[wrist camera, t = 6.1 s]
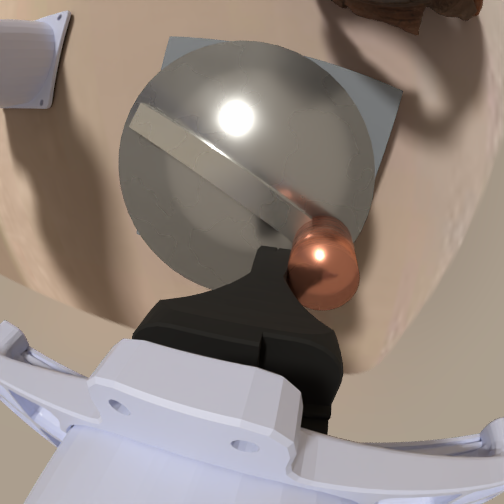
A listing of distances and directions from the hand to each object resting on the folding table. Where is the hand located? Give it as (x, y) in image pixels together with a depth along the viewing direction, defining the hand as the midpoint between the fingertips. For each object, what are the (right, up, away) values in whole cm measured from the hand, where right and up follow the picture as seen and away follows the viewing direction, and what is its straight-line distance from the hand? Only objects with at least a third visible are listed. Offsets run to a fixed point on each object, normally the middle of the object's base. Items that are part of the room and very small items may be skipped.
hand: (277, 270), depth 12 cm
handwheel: (-1, +5, +2) cm, 5 cm away
